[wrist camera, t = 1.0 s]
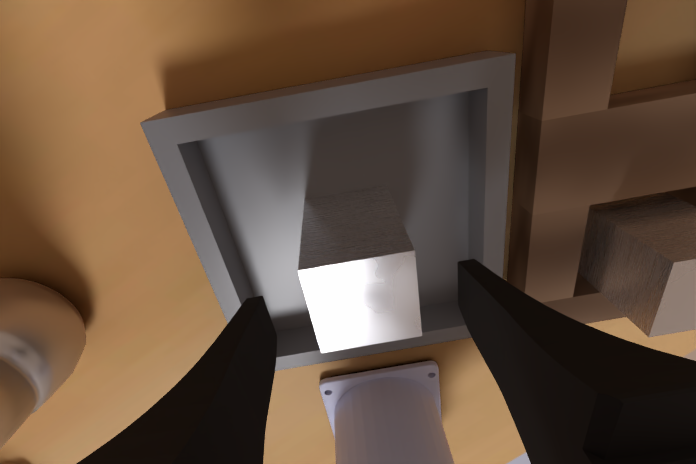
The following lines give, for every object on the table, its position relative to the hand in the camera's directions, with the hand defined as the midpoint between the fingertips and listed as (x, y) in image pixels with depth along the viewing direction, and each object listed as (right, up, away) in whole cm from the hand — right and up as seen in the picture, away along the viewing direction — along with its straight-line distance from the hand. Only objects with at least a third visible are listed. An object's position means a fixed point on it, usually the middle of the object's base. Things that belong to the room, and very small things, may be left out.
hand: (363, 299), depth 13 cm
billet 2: (+14, +3, +7) cm, 16 cm away
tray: (0, +3, +6) cm, 6 cm away
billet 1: (0, +3, +5) cm, 6 cm away
